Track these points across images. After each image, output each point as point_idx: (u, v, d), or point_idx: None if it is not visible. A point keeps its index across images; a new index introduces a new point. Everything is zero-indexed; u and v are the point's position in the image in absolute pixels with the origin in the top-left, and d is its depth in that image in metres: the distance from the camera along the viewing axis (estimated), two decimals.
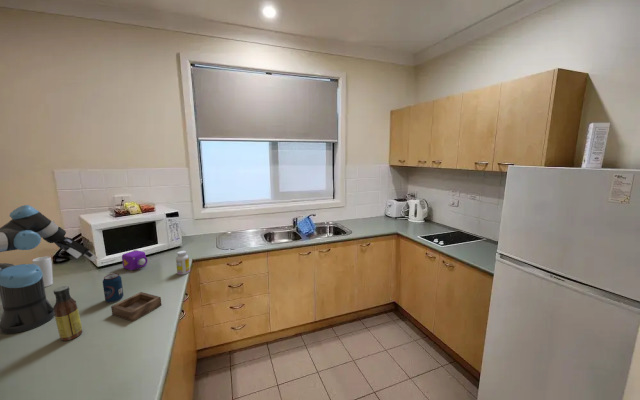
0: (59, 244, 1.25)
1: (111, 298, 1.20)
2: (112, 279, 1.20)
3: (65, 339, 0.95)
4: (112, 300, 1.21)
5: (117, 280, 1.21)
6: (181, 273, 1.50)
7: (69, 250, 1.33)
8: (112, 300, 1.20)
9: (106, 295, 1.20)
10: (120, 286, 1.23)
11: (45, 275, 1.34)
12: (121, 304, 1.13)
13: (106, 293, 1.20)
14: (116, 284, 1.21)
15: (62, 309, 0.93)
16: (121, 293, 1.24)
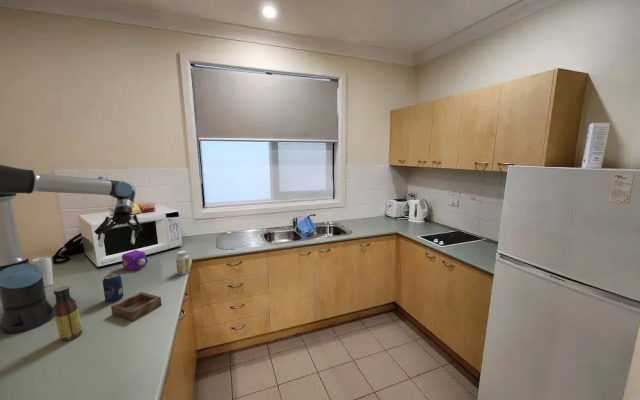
0: (116, 219, 1.35)
1: (111, 298, 1.20)
2: (112, 279, 1.20)
3: (65, 339, 0.95)
4: (112, 300, 1.21)
5: (117, 280, 1.21)
6: (181, 273, 1.50)
7: (103, 234, 1.30)
8: (112, 300, 1.20)
9: (106, 295, 1.20)
10: (120, 286, 1.23)
11: (45, 275, 1.34)
12: (121, 304, 1.13)
13: (105, 293, 1.20)
14: (116, 284, 1.21)
15: (62, 309, 0.93)
16: (121, 293, 1.24)
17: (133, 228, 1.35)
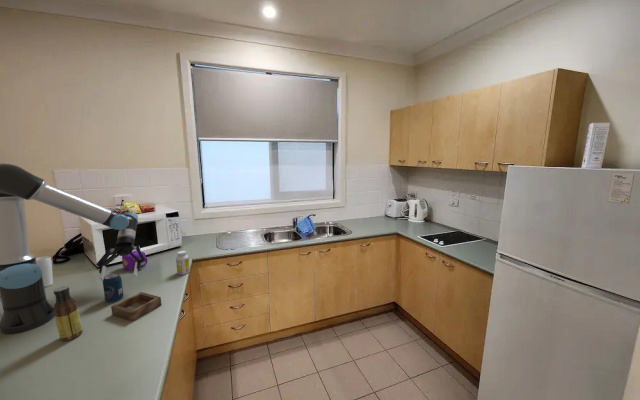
0: (119, 250, 1.32)
1: (111, 298, 1.20)
2: (112, 279, 1.20)
3: (65, 339, 0.95)
4: (112, 300, 1.21)
5: (117, 280, 1.21)
6: (181, 273, 1.50)
7: (105, 267, 1.27)
8: (112, 300, 1.20)
9: (106, 295, 1.20)
10: (120, 286, 1.23)
11: (45, 275, 1.34)
12: (121, 304, 1.13)
13: (106, 293, 1.20)
14: (116, 284, 1.21)
15: (62, 309, 0.93)
16: (121, 293, 1.24)
17: (136, 260, 1.32)
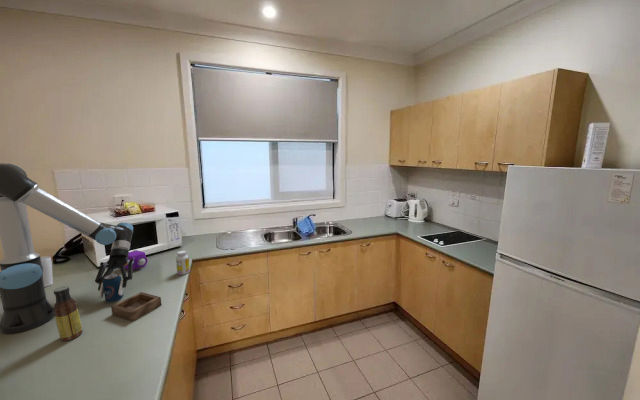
0: (113, 263, 1.27)
1: (111, 298, 1.20)
2: (112, 279, 1.20)
3: (65, 339, 0.95)
4: (112, 300, 1.21)
5: (117, 280, 1.21)
6: (181, 273, 1.50)
7: None
8: (112, 300, 1.20)
9: (106, 295, 1.20)
10: None
11: (45, 275, 1.34)
12: (121, 304, 1.13)
13: (105, 293, 1.20)
14: (116, 284, 1.21)
15: (62, 309, 0.93)
16: None
17: (122, 276, 1.25)
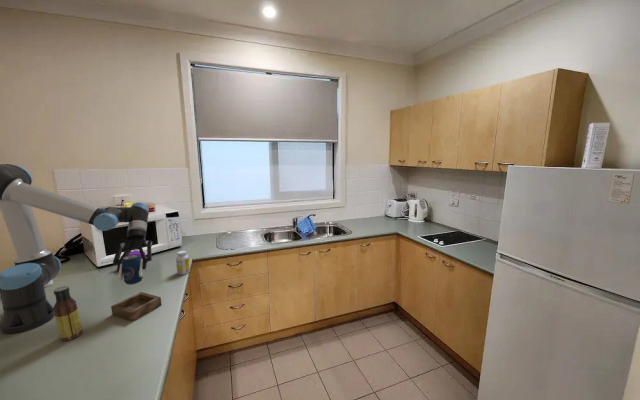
0: (131, 244, 1.19)
1: (131, 280, 1.13)
2: (132, 260, 1.13)
3: (65, 339, 0.95)
4: (132, 282, 1.14)
5: (137, 261, 1.14)
6: (181, 273, 1.50)
7: None
8: (132, 281, 1.14)
9: (126, 277, 1.13)
10: None
11: None
12: (121, 304, 1.13)
13: (125, 275, 1.13)
14: (136, 265, 1.14)
15: (62, 309, 0.93)
16: None
17: (142, 258, 1.18)
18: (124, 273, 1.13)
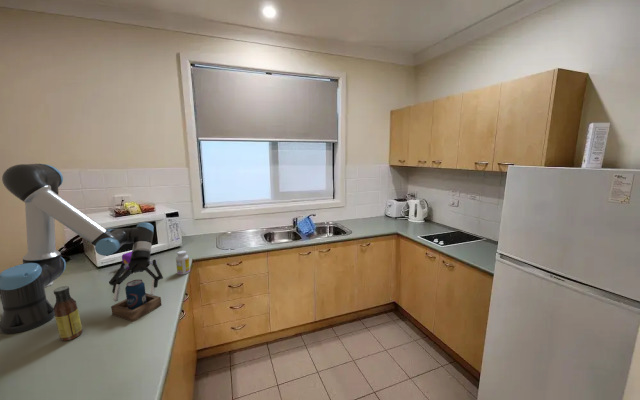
0: (134, 266, 1.18)
1: (134, 306, 1.12)
2: (135, 286, 1.11)
3: (65, 339, 0.95)
4: (135, 308, 1.12)
5: (141, 287, 1.13)
6: (181, 273, 1.50)
7: (118, 286, 1.13)
8: None
9: (129, 303, 1.11)
10: (143, 293, 1.14)
11: None
12: (121, 304, 1.13)
13: (129, 301, 1.11)
14: (140, 291, 1.12)
15: (62, 309, 0.93)
16: (144, 301, 1.15)
17: None
18: (127, 299, 1.11)
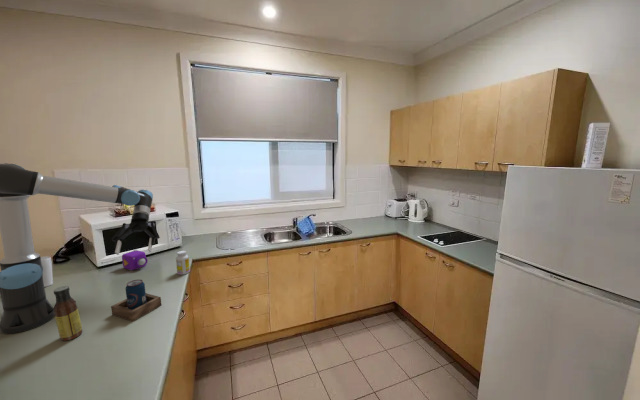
0: (134, 226, 1.32)
1: (134, 306, 1.12)
2: (136, 286, 1.11)
3: (65, 339, 0.95)
4: (135, 308, 1.12)
5: (141, 287, 1.13)
6: (181, 273, 1.50)
7: (120, 242, 1.27)
8: None
9: (129, 303, 1.11)
10: (144, 293, 1.14)
11: (45, 275, 1.34)
12: (121, 304, 1.13)
13: (129, 301, 1.11)
14: (140, 291, 1.12)
15: (62, 309, 0.93)
16: (145, 301, 1.15)
17: (150, 236, 1.31)
18: (128, 299, 1.11)
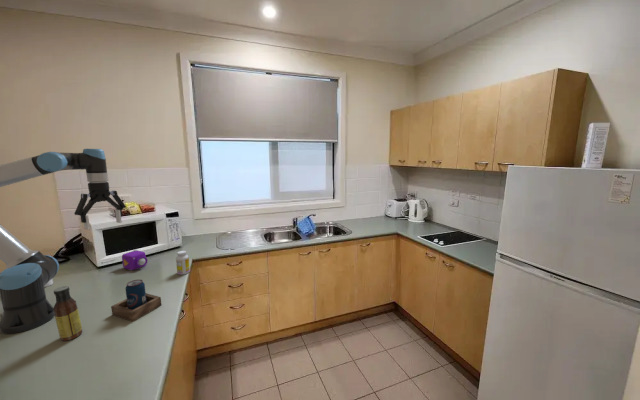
0: (99, 198, 1.21)
1: (134, 306, 1.12)
2: (136, 286, 1.11)
3: (65, 339, 0.95)
4: (135, 308, 1.12)
5: (141, 287, 1.13)
6: (181, 273, 1.50)
7: None
8: None
9: (129, 303, 1.11)
10: (144, 293, 1.14)
11: None
12: (121, 304, 1.13)
13: (129, 301, 1.11)
14: (140, 291, 1.12)
15: (62, 309, 0.93)
16: (145, 301, 1.15)
17: (118, 207, 1.29)
18: (128, 299, 1.11)
